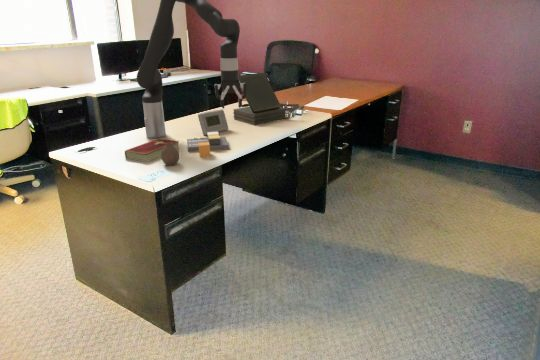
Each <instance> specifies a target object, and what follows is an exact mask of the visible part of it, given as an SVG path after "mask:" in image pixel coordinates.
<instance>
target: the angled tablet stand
mask: <svg viewBox="0 0 540 360" xmlns="http://www.w3.org/2000/svg"><path fill="white" fill-rule="evenodd" d="M239 82H240V83H246V97H244V98H245V100H246V102H247V105H248V106H246V107H245V106H243V107H240V108H239V107H238V108H233V112H232V113H233V119H234V121H235V120H236V121H239V122H242V123H245V124H249V125H252V126H257V125H262V124H268V123H271V122H276V121H283V120H285V119H286V108H284V107H282V104H281V103H280V101H279V99H278V96H277V95H276V93H275V91H274V89H273V87H272V85H271V84H270V81H269V79H268V77H267V75H266V73H265V72H260V73H259V72H258V73H252V74H251V73H250V74H245V75H244V74H243V75H239ZM239 88H240V90H241V93H243V88H242V87H241V86H240V87H239Z"/></svg>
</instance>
